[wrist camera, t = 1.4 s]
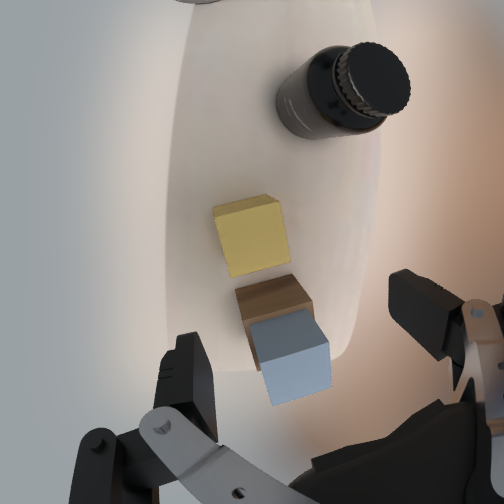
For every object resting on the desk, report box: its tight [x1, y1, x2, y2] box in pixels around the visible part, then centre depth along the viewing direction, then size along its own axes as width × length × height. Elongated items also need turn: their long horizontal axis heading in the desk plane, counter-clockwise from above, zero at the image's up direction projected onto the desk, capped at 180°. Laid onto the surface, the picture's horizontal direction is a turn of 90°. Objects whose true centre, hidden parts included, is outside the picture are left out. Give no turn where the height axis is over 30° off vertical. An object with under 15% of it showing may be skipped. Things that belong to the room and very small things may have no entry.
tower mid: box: [249, 308, 332, 406], centre depth 21 cm, size 5×5×5 cm
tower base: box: [235, 274, 315, 371], centre depth 26 cm, size 6×6×6 cm
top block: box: [213, 194, 291, 278], centre depth 24 cm, size 5×5×5 cm
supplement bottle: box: [277, 42, 411, 139], centre depth 18 cm, size 7×7×12 cm
